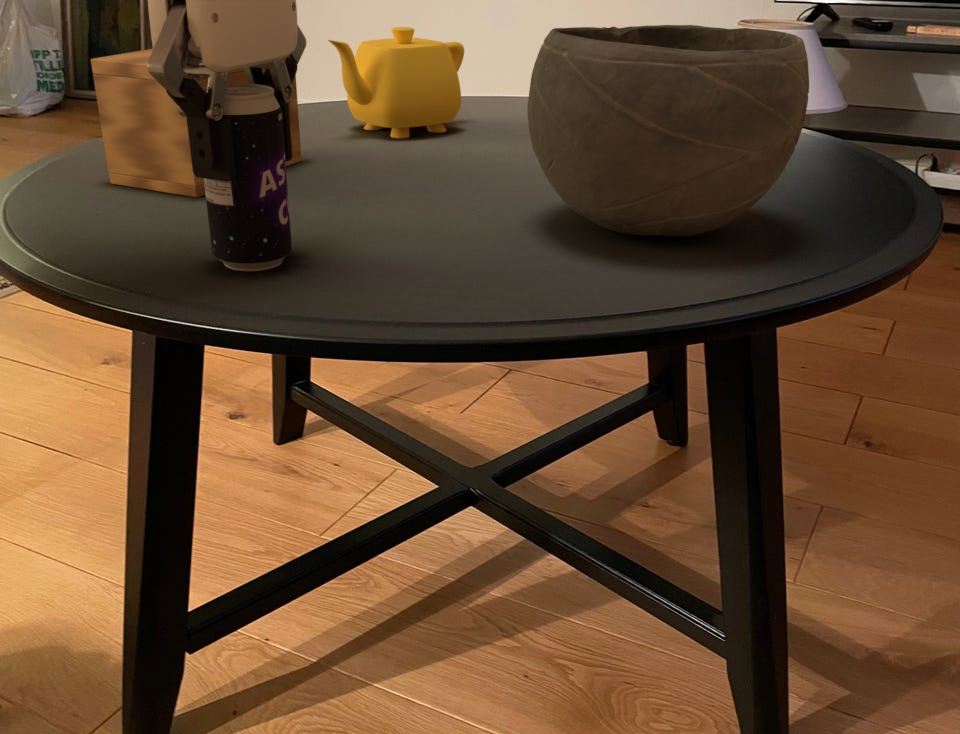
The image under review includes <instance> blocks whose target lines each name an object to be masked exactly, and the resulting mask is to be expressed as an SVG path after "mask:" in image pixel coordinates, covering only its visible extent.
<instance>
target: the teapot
mask: <svg viewBox="0 0 960 734" xmlns="http://www.w3.org/2000/svg"><path fill="white" fill-rule="evenodd" d="M391 34H392V36H393V37H392V38H381V39H380V38H379V39H371V40H365V41H361V42H359V44H358V47H357V49H356V52H355V54H354V52H353V49H352V48H351V46H350V45H349V44H348V43H346V42H344V41H338V40H331V39H327V41H328V42H329V43H330V44H331V45H333V46H334V47H335V49H336V50H337V52H338V55H339V58H340V62H341V77H342V83H343V87H344V90H345V91H346V94H347V95H346V96H347V98H346V99H347V100H346V101H347V106H348V108H349V111H350V112H351V114H352V117H353V118H354V119H355V120H357V121H360V122H363V123H366V124H365V125H364V127H363V129H364V130H365V131H366V130H367V131H378V130H379V131H381V130H383V128H387V129H389V128H390V130H391V131H390V137H391V138H393V139H406V138H407V139H408V138H410V136H411V135H410V128H418V127H426V130H427V132H430V133H445V132H447V129H446V127H445V126H444V124H443V123H448V122H451V121H453V120H455V119H456V117H457V115H458V113H459V112H460V109H461V107H462V92H461V85H460V79H459V74H458V72H459V70H460V69H461V66H462V63H463V60H464V56H465V47H464V45H463V44H462V43H461V42H458V41H448V42H443V41H440V40H439V41H438V40H433V39H427V38H419V37H414V34H415V28H413V27H410V26H395V27H392V28H391Z"/></svg>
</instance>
